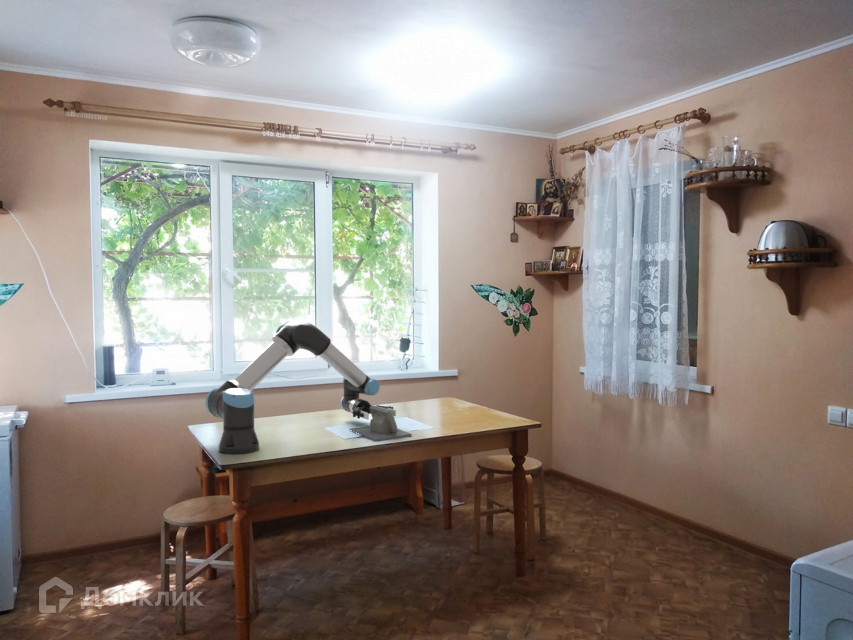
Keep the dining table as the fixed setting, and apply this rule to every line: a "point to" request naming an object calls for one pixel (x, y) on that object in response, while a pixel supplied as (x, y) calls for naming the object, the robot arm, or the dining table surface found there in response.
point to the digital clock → (382, 420)
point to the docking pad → (379, 434)
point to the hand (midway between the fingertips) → (381, 414)
